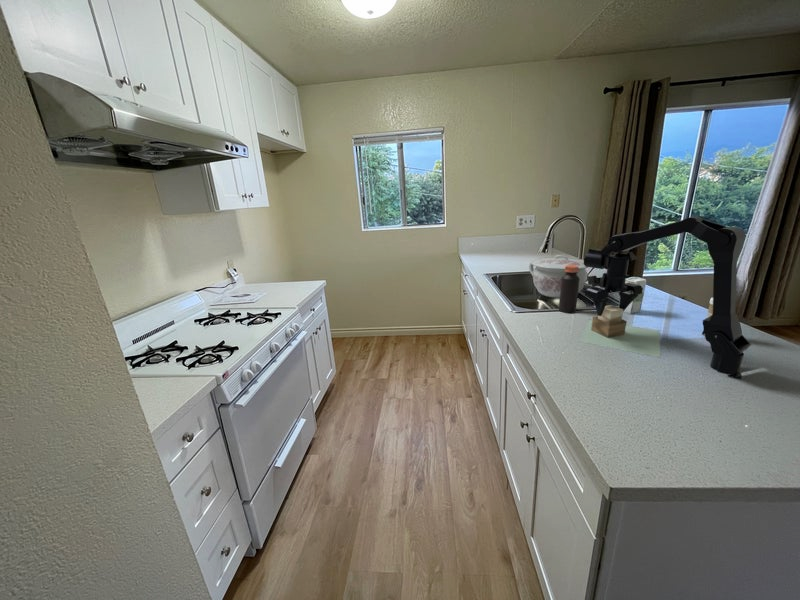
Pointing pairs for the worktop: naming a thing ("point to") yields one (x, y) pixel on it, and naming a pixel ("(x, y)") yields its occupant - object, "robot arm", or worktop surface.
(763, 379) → the worktop surface
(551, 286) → the chamber pot
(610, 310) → the ash block
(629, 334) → the board
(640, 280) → the syrup box
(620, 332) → the walnut socket block
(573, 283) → the vinegar
